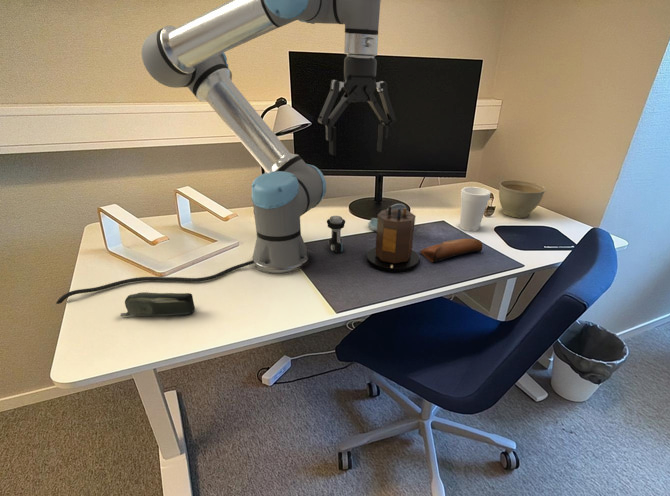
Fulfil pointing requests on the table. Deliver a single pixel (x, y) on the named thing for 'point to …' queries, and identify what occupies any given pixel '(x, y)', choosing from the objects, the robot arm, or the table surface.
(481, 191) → the foam cup
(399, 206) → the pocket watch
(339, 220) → the push button
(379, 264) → the base
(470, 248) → the sunglasses case
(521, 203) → the planter bowl
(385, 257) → the pen carousel
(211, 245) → the table surface
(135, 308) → the dark green rounded block
